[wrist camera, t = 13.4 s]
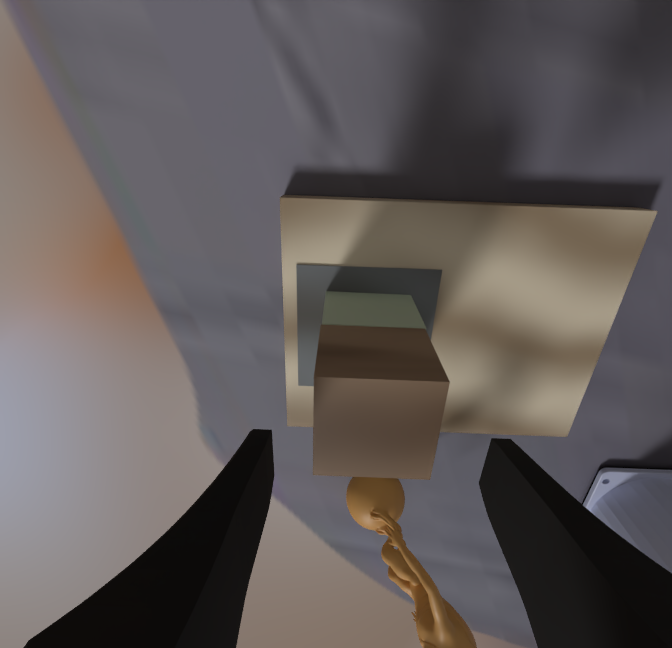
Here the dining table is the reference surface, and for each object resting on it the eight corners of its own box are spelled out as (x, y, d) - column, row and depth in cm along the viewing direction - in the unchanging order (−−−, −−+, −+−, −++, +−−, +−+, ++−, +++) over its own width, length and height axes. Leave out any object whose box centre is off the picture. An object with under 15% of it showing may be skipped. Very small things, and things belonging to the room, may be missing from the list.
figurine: (332, 437, 25) (323, 652, 14) (417, 420, 24) (477, 634, 14) (360, 515, 29) (370, 736, 18) (436, 502, 28) (495, 726, 17)
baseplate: (556, 424, 24) (567, 437, 23) (290, 413, 24) (287, 427, 23) (638, 207, 18) (659, 211, 17) (283, 194, 18) (279, 197, 17)
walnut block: (412, 411, 17) (430, 479, 14) (319, 408, 17) (312, 475, 14) (425, 328, 16) (449, 382, 12) (320, 324, 16) (313, 376, 12)
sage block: (400, 366, 21) (412, 411, 17) (324, 363, 21) (319, 407, 17) (410, 294, 19) (426, 328, 16) (326, 291, 19) (321, 323, 16)
